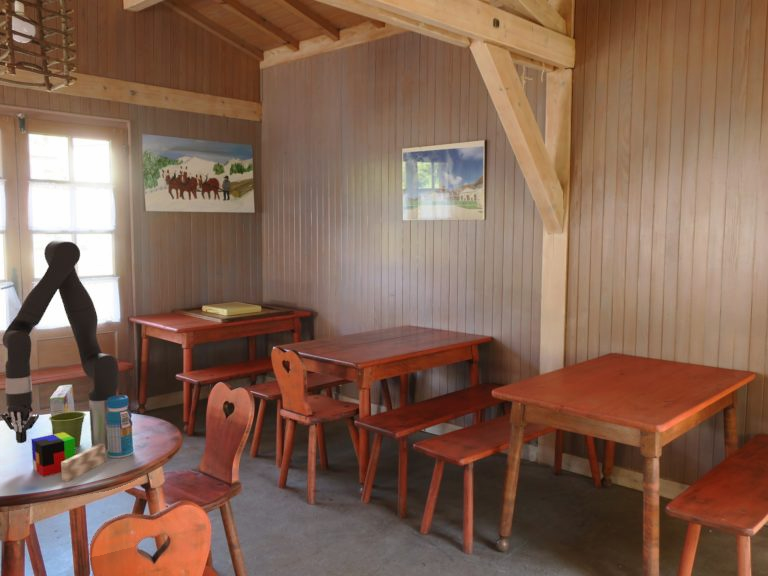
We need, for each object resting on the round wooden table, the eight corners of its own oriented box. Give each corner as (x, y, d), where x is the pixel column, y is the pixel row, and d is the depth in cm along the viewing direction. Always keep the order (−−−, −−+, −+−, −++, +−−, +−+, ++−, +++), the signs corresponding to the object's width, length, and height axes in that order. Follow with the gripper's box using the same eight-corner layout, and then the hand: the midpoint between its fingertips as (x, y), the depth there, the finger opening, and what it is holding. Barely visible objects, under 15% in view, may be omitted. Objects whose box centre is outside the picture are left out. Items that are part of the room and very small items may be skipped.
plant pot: (73, 452, 228) (71, 421, 227) (43, 451, 231) (41, 419, 230) (94, 442, 240) (92, 411, 239) (65, 440, 242) (64, 410, 241)
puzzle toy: (33, 469, 213) (31, 439, 212) (65, 461, 220) (63, 432, 219) (43, 477, 206) (41, 446, 205) (76, 468, 213) (74, 438, 212)
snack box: (60, 421, 267) (58, 385, 266) (75, 420, 269) (73, 384, 267) (51, 437, 247) (48, 397, 246) (67, 435, 249) (65, 396, 247)
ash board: (100, 461, 219) (99, 443, 219) (105, 461, 219) (104, 443, 218) (62, 481, 202) (60, 462, 201) (67, 481, 201) (66, 462, 201)
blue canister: (105, 460, 220) (102, 401, 219) (109, 451, 228) (106, 395, 227) (132, 457, 223) (129, 399, 221) (135, 449, 231) (132, 393, 229)
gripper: (44, 388, 216) (47, 440, 217) (11, 386, 219) (13, 437, 220) (27, 393, 208) (29, 447, 210) (-8, 391, 212) (-5, 444, 213)
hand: (21, 442), depth 215 cm, fingers closed
